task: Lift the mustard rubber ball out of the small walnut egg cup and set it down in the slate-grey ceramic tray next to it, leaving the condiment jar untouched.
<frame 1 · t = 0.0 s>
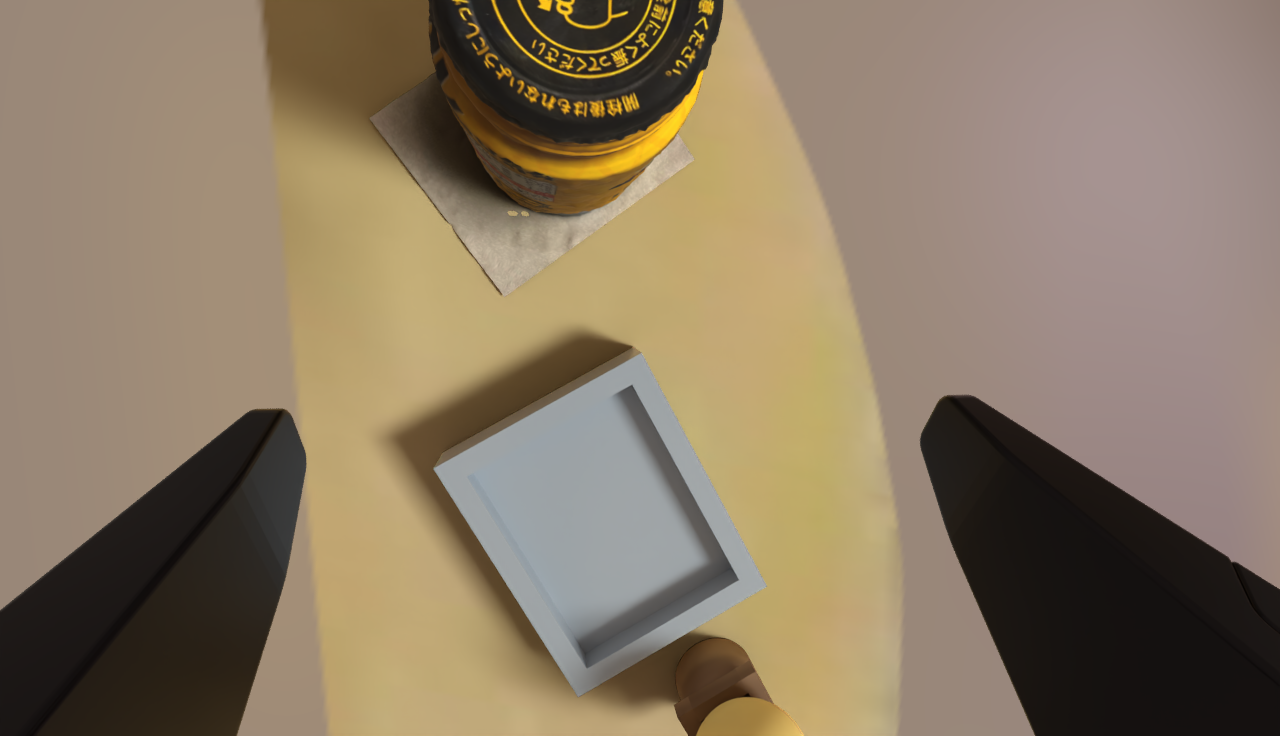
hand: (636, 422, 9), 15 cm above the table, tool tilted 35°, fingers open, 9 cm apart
tray: (603, 510, 25), on the table
egg cup: (713, 674, 26), on the table
condiment: (539, 142, 23), on the table
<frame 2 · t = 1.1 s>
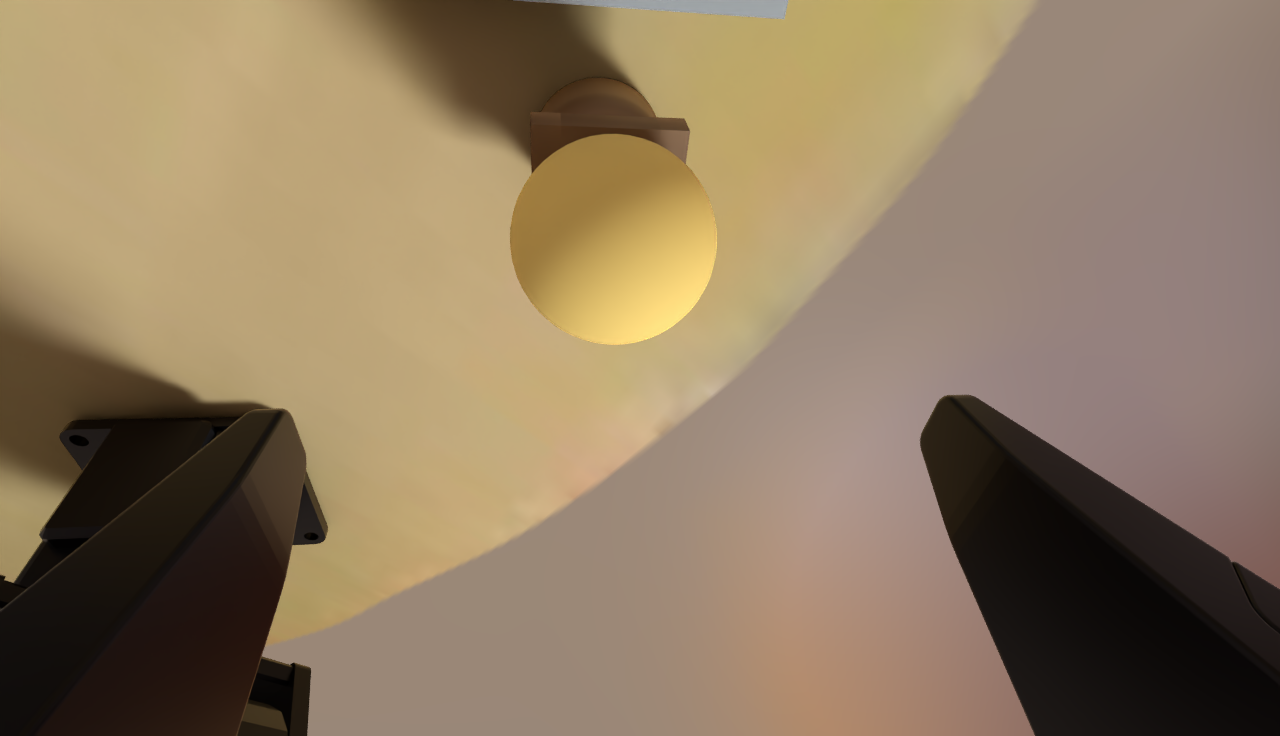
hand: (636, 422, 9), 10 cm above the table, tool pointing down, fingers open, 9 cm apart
ball: (614, 242, 13), point 5 cm above the table, touching egg cup
egg cup: (598, 143, 16), on the table
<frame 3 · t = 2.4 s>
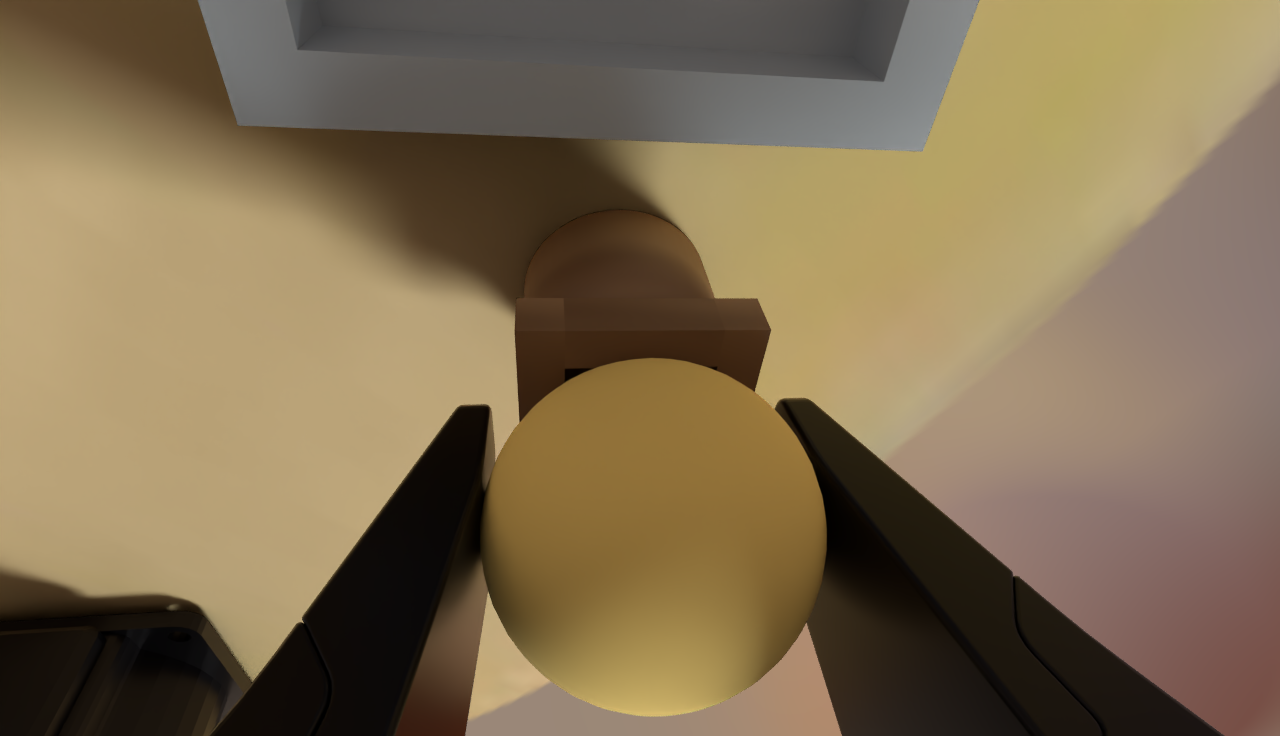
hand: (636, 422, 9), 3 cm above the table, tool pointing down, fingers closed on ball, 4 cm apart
ball: (652, 525, 8), point 5 cm above the table, touching egg cup, gripper
egg cup: (615, 292, 11), on the table
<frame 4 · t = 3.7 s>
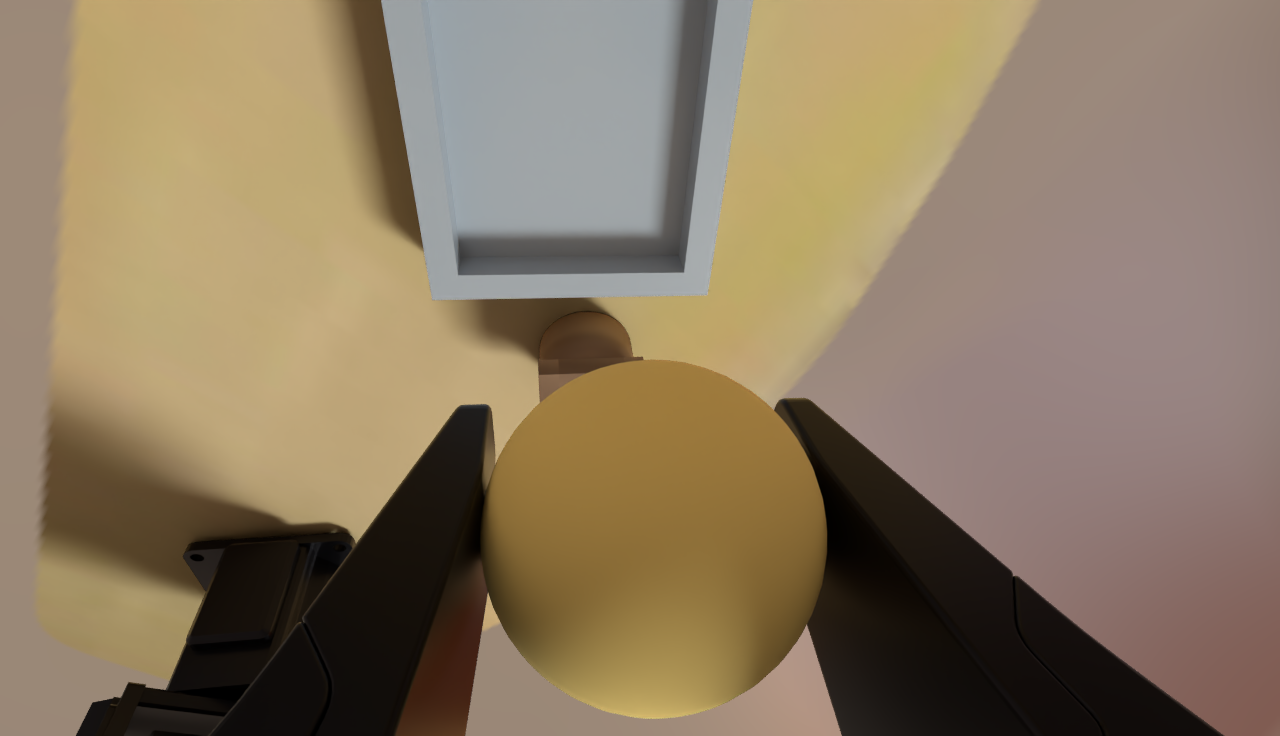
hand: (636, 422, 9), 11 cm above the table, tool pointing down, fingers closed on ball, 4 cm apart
tray: (569, 98, 17), on the table
ball: (652, 527, 8), point 13 cm above the table, touching gripper
egg cup: (585, 349, 23), on the table
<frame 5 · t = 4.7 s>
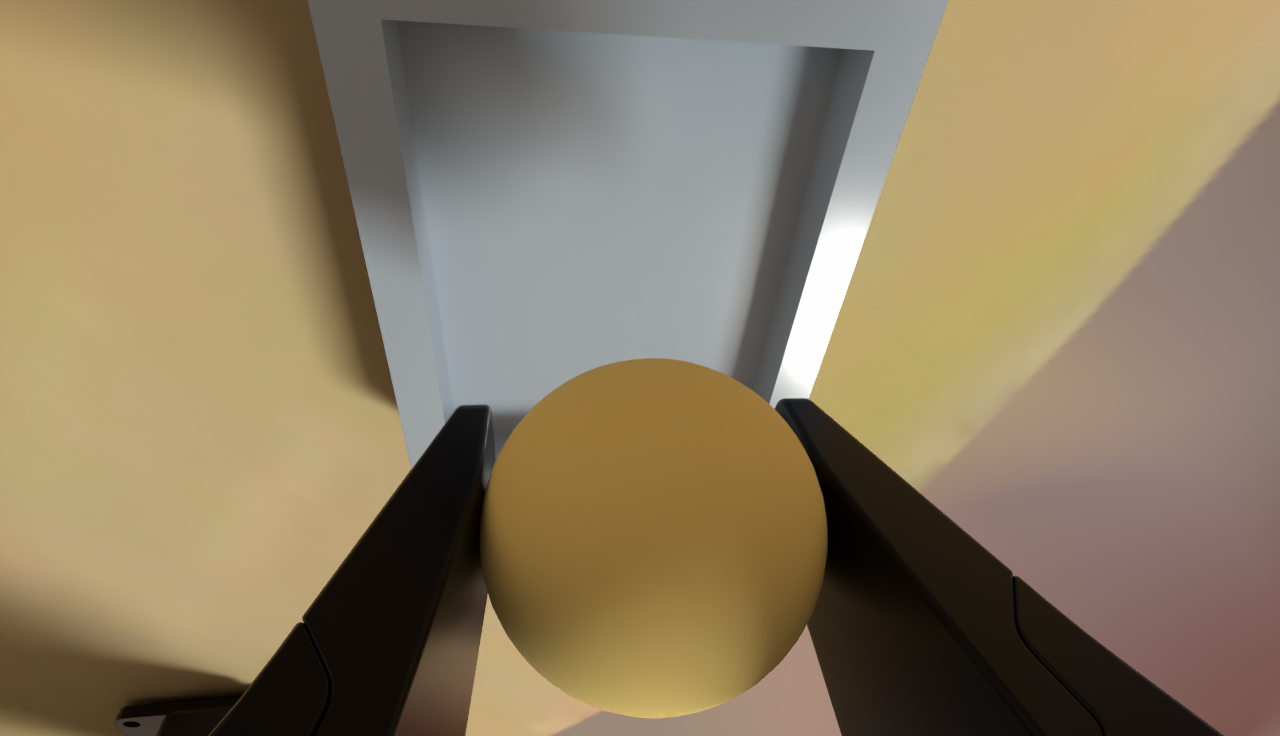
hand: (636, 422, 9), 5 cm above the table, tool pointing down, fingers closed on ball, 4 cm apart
tray: (610, 245, 12), on the table
ball: (652, 526, 8), point 6 cm above the table, touching gripper
when the fingers open (4 cm above the table, at t = 5.2 s): ball drops 2 cm, resting on tray.
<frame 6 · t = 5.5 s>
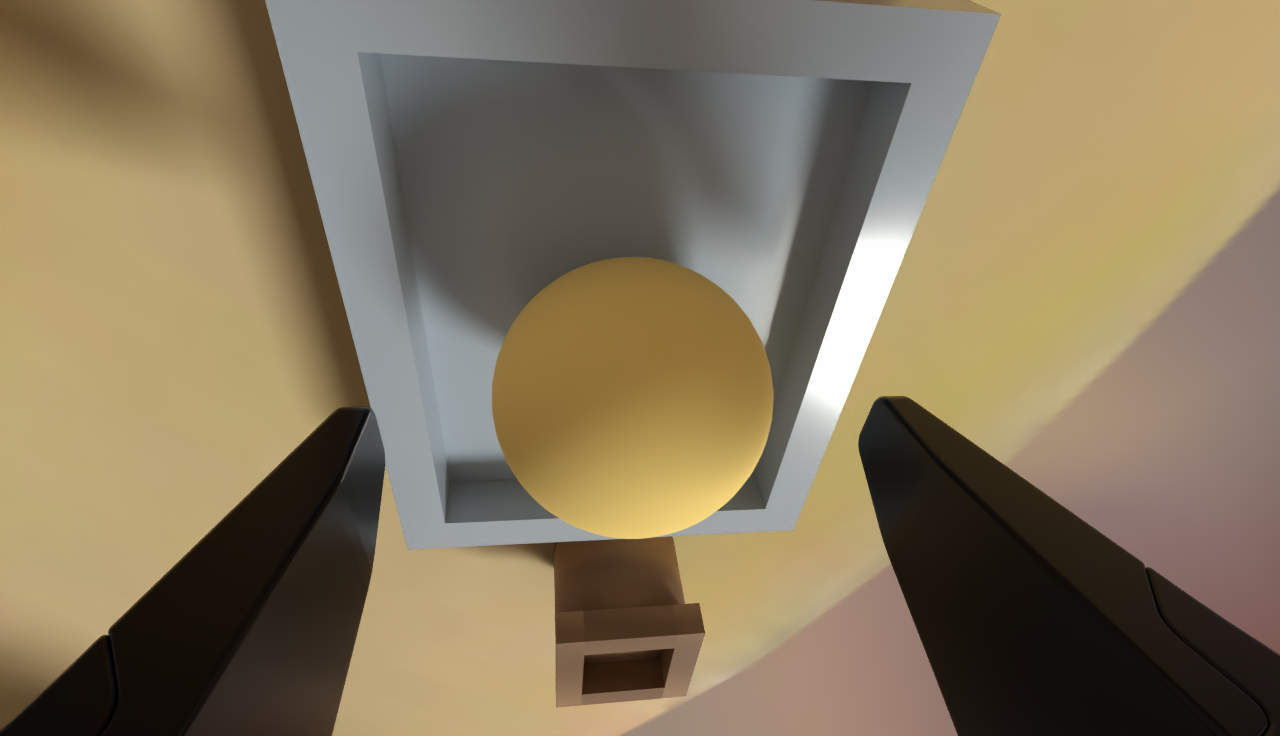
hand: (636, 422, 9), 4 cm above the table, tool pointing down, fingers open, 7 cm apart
tray: (614, 282, 12), on the table
ball: (632, 396, 9), point 3 cm above the table, touching tray
egg cup: (614, 551, 17), on the table
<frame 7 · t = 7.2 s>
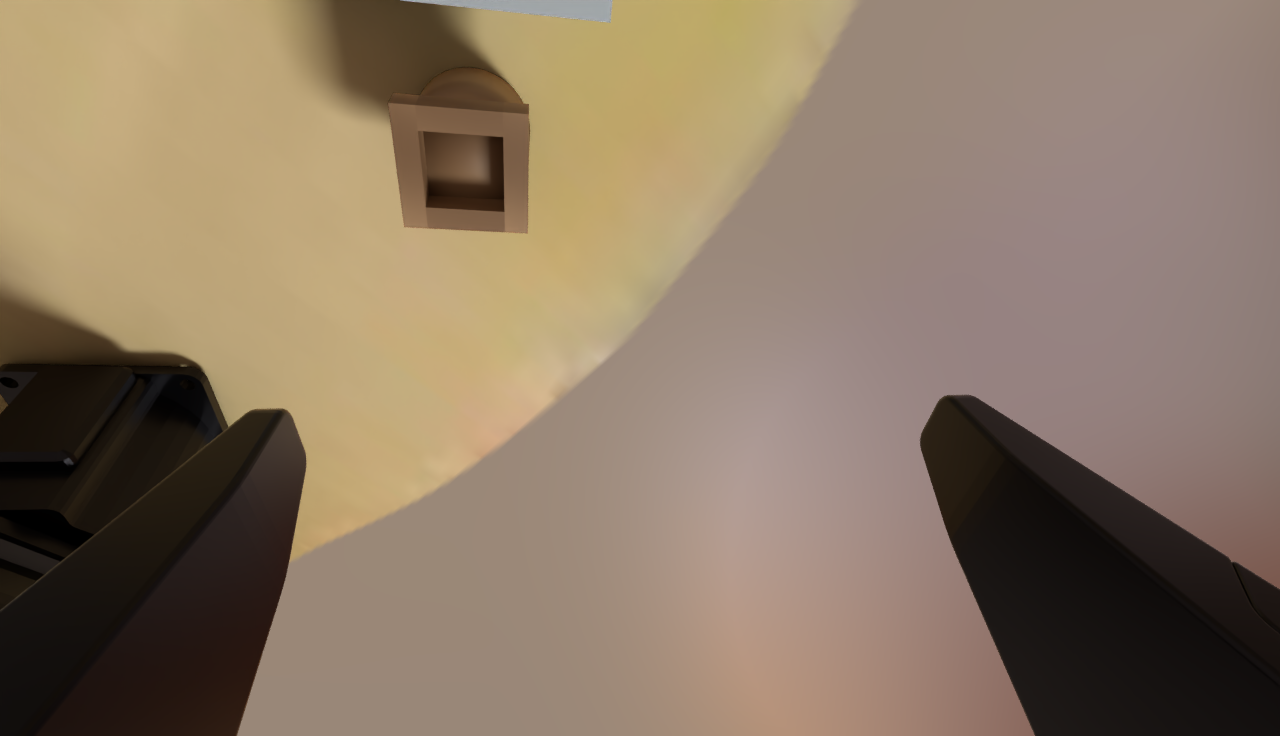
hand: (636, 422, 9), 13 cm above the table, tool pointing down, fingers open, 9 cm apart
egg cup: (473, 126, 19), on the table
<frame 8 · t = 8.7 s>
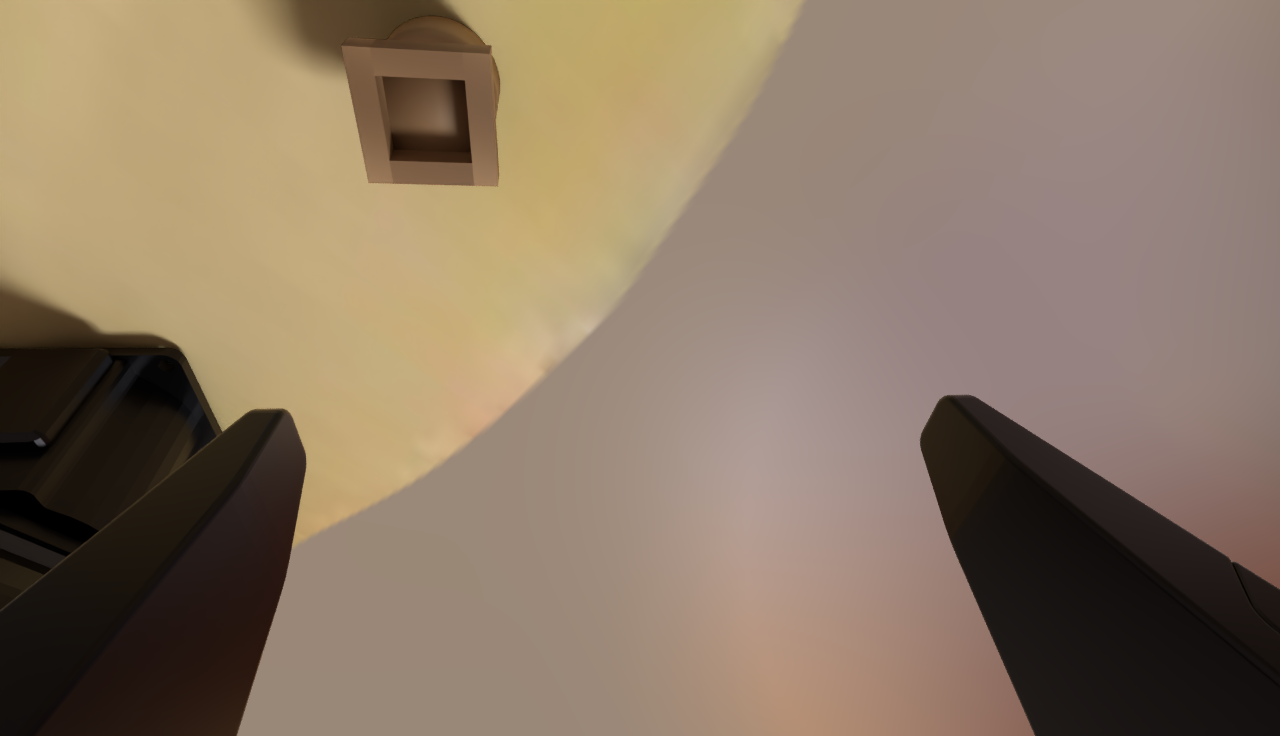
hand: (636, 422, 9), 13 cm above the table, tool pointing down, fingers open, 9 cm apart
egg cup: (441, 80, 18), on the table
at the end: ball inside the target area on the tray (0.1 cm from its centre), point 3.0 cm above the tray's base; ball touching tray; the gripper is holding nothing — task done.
